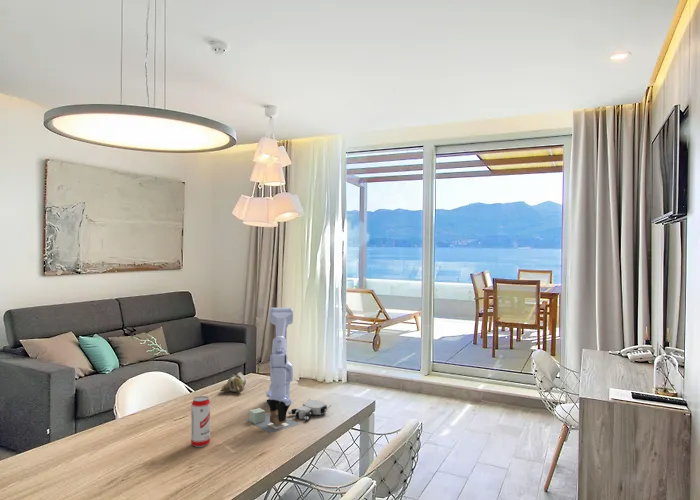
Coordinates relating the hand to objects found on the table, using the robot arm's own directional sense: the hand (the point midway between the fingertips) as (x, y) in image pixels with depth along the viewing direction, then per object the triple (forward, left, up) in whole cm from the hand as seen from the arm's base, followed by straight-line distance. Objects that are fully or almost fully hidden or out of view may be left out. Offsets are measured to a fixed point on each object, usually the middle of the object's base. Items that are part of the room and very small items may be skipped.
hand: (278, 419), depth 181 cm
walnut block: (0, 0, -1) cm, 1 cm away
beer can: (-3, -30, -3) cm, 30 cm away
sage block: (-9, -4, -2) cm, 10 cm away
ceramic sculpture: (-51, +9, -3) cm, 52 cm away
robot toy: (-1, +16, -3) cm, 16 cm away
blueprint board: (-4, 0, -2) cm, 5 cm away
